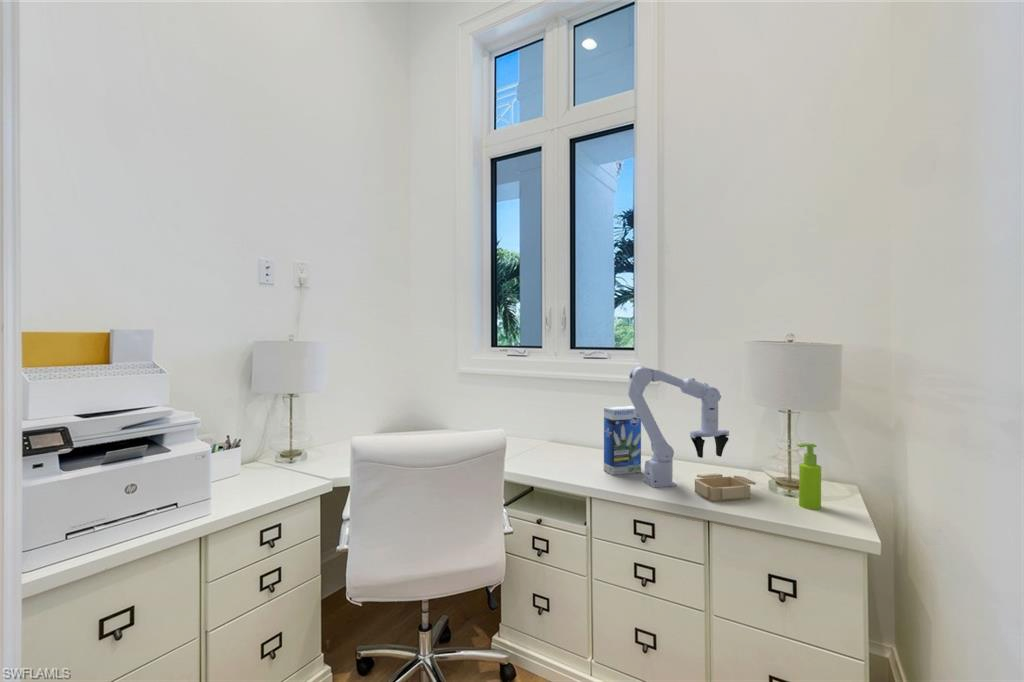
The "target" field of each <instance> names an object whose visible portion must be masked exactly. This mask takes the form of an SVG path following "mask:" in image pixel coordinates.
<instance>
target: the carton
mask: <svg viewBox="0 0 1024 682" xmlns="http://www.w3.org/2000/svg"><path fill="white" fill-rule="evenodd" d="M694 493H696V494H698V495H699V494H700V495H699V496H701V497H702V498H705V499H706V500H709V502H711V503H719V502H728V501H730V502H731V501H742V500H743V501H744V500H750V499H751V484H746V483H744V482H742V481H739V480H737V479H735V478H734V476H723V477H714V478H694Z"/></svg>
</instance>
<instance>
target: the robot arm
mask: <svg viewBox="0 0 1024 682" xmlns="http://www.w3.org/2000/svg"><path fill="white" fill-rule="evenodd" d="M628 377H629V378H628V379H629V380H628V387H627V395H628V398H629V399H630V401H631V403H632V406H634V408H635V410H636V412H637V414H638V416H639V418H640V420H641V425H642V426H643V427H644V430H645V431H646V433H647V437H648V438H649V441H650V444H651V445H650V447H651V449H650V450H651V451H652V453H653V455H652V456H651V459H649V460H646V461H645V462H644V479H643V481H644V482H645V483H646V484H648V485H649V486H651V487H652V486H653V488H663V487H664V488H665V487H675V486H676V487H677V486H678V483H676V482H675V481H673V475H674V473H673V472H674V471H673V467H674V466H673V463H674V462H673V461H674V460H673V458H674V455H675V451H674V448H673V447H672V445H670V444H668V441H667V440H666V439H665V437H664V435H663V434H662V432H661V430H660V428H659V425H658V423H657V422H656V420H655V417H654V416H653V414H652V412H651V409H650V407H649V405H648V404H647V403H648V402H647V401H646V400H645V397H644V395H643V394H644V391H645V390H646V387H647V386H648V385H649V384H650V383H651V382H653V383H655V382H663V383H666V384H669V385H671V386H673V387H677V388H679V389H680V391H681V393H682V394H685V395H688V396H691V397H694V398H695V399H699V400H701V406H700V413H701V415H700V421H701V423H700V427H701V428H700V430H694V431H690V433H689V437H690V439H691V441H692V443H693V444H694V447H695V451H696V454H697V455H696V456H697V457H698V458H701V459H703V457H704V447H705V442H706V440H705V439H703V438H710V437H711V438H713V437H714V442H715V443H714V444H715V453H716V454H715V455H716V456H717V457H722V456H723V452H724V450H725V446H726V445H727V443H728V442H729V437H730V431H729V430H727V429H719V402H720V401H721V398H722V395H721V393H720V391H719V389H718V388H716V387H713V386H710V385H709V384H708V383H707V382H704V383H703V382H701V381H697V380H696V378H694V377H690V378H689V377H687V378H684V379H682V378H679V377H677V376H674V375H672V374H670V373H667V372H664V371H662V370H659V369H655V368H651V367H646V366H643V365H636V366H634V368H632V370H631V372H630V374H629V375H628Z"/></svg>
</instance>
